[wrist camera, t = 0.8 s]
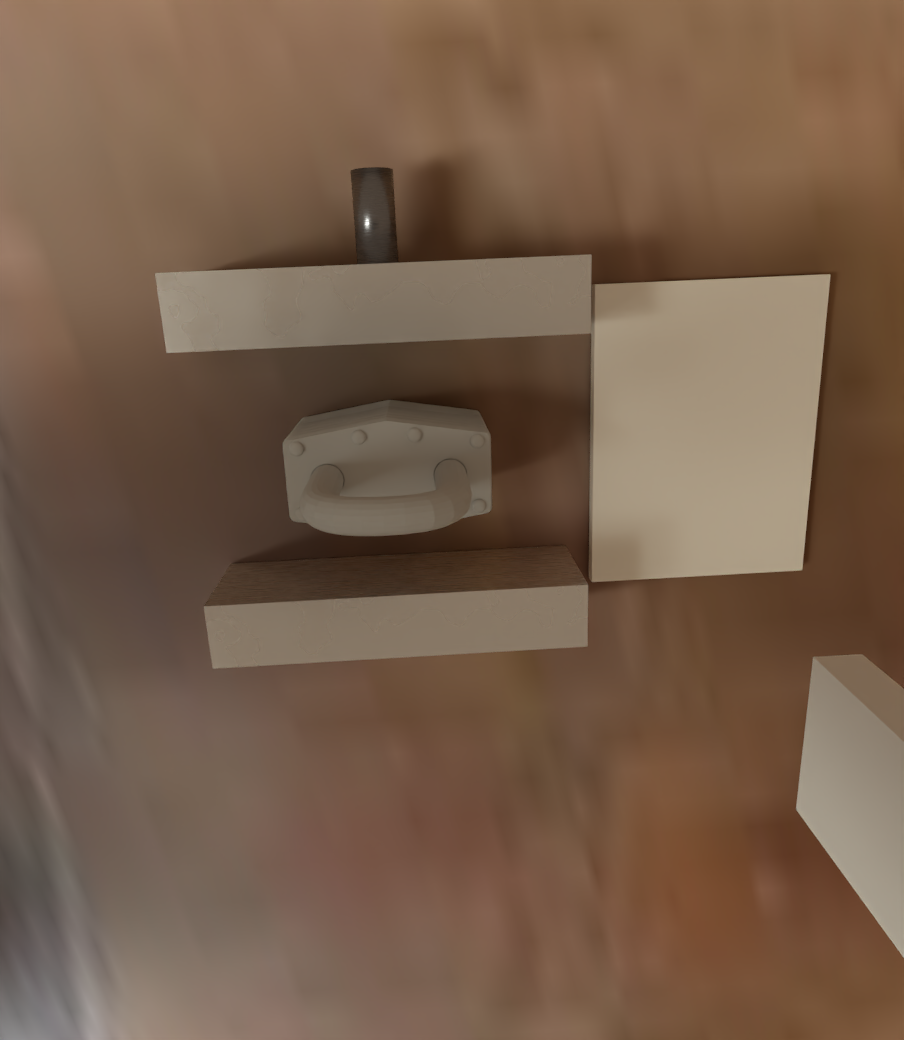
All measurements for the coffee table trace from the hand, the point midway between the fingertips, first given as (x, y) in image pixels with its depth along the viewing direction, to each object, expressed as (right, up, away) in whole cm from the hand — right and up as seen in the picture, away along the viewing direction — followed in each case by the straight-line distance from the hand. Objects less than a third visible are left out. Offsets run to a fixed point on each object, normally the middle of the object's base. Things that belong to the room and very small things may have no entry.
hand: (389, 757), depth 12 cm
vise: (-2, +8, +19) cm, 21 cm away
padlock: (-1, +7, +20) cm, 21 cm away
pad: (+11, +7, +20) cm, 24 cm away
